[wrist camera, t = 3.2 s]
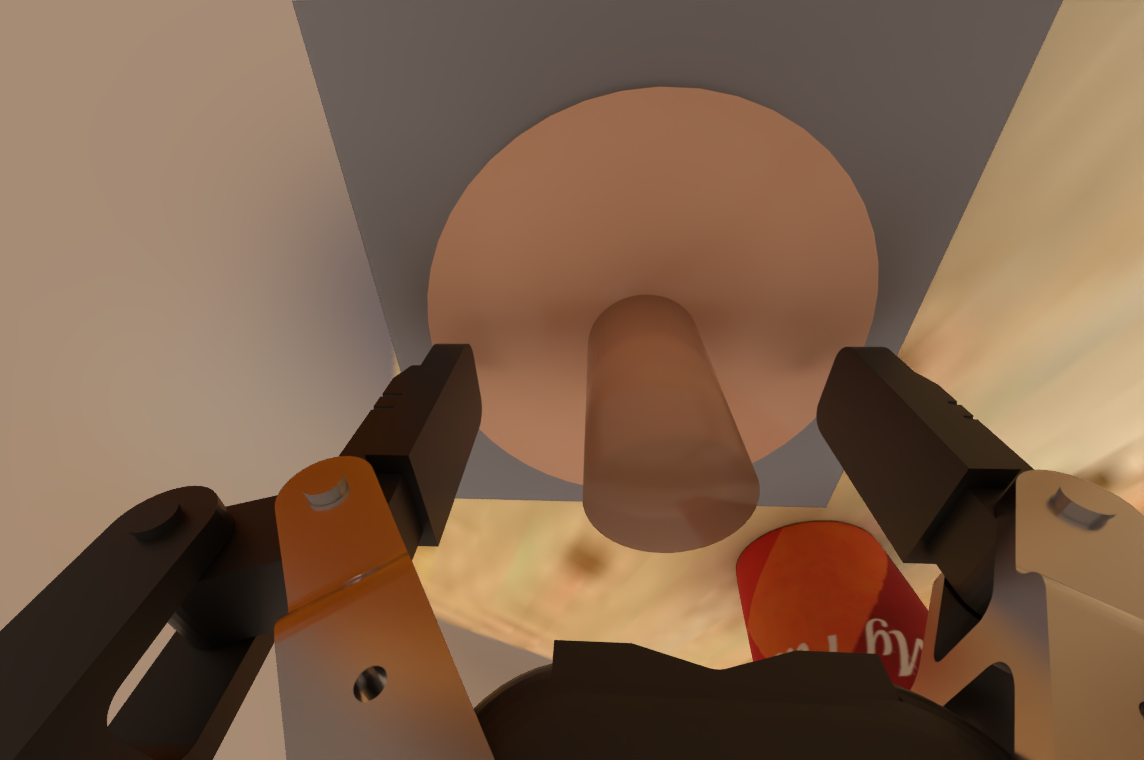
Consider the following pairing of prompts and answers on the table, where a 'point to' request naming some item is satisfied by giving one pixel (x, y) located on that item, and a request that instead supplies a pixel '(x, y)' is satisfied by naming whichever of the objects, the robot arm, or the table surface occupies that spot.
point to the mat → (666, 59)
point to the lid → (656, 301)
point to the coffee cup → (830, 597)
